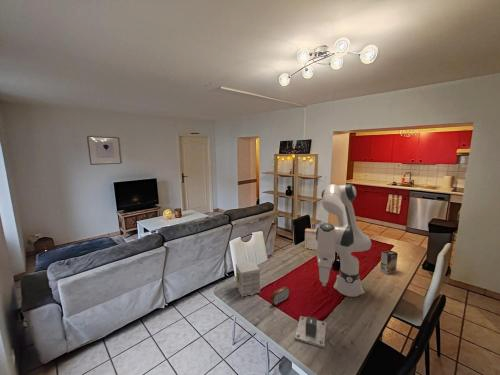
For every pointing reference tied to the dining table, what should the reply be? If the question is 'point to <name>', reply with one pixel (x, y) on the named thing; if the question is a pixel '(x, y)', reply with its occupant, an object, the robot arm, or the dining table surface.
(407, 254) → the dining table surface
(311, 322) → the labeled dark box
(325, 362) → the dining table surface
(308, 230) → the coffeecake box
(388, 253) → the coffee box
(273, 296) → the tin
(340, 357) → the dining table surface
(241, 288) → the supplement box
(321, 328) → the hub plate
